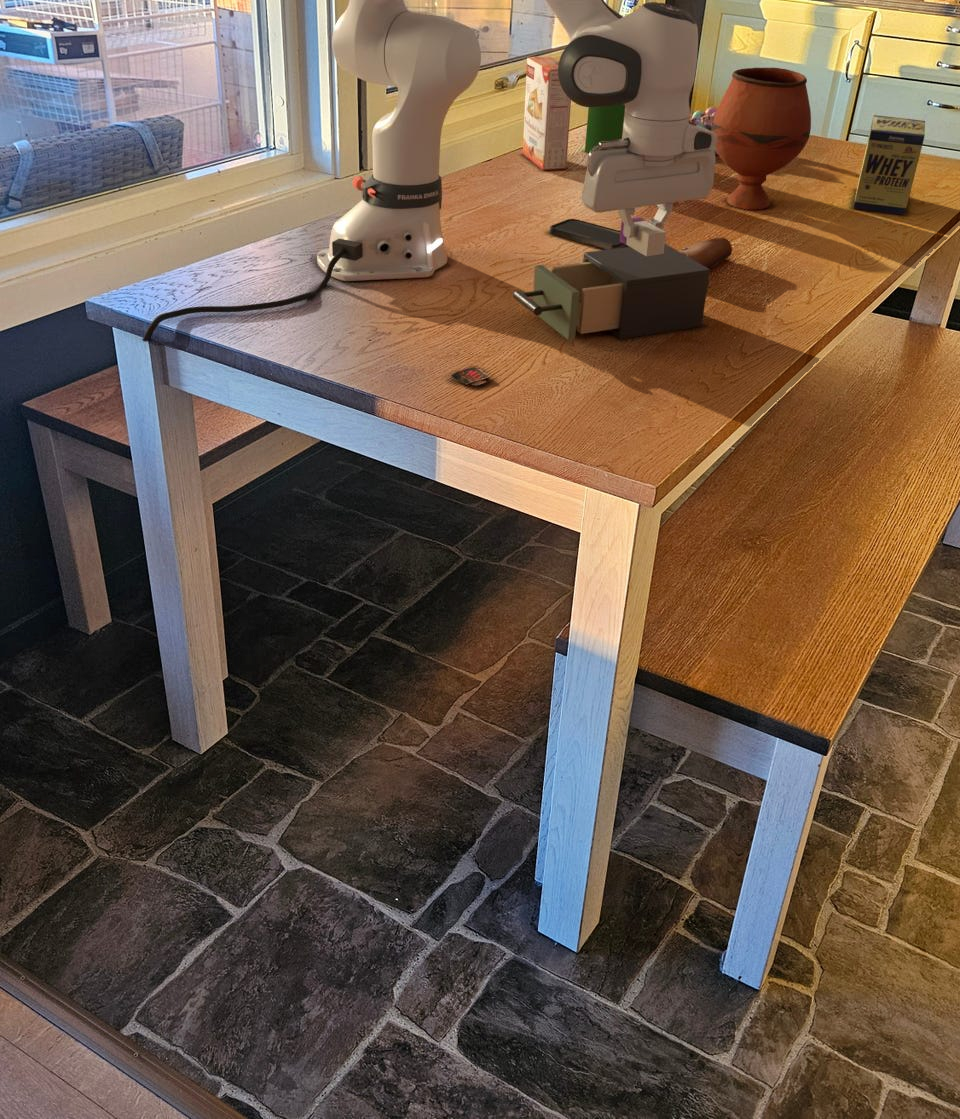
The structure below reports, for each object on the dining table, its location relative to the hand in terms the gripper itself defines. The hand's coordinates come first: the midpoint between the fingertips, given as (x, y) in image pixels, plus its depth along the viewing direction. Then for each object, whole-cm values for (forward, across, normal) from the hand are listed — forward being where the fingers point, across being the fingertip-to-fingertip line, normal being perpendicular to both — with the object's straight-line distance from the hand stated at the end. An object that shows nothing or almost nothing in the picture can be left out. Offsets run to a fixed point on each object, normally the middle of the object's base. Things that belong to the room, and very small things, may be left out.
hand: (642, 234), depth 158 cm
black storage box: (+15, +4, +4) cm, 16 cm away
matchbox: (+15, -30, -6) cm, 34 cm away
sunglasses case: (+15, +25, +20) cm, 35 cm away
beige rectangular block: (+2, 0, 0) cm, 2 cm away
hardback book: (+16, +56, +89) cm, 106 cm away
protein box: (+16, +87, +39) cm, 97 cm away
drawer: (+14, -7, +5) cm, 17 cm away
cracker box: (+16, +35, +90) cm, 98 cm away
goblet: (+16, +60, +48) cm, 78 cm away
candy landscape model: (+17, +80, +90) cm, 122 cm away
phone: (+15, +18, +40) cm, 47 cm away
